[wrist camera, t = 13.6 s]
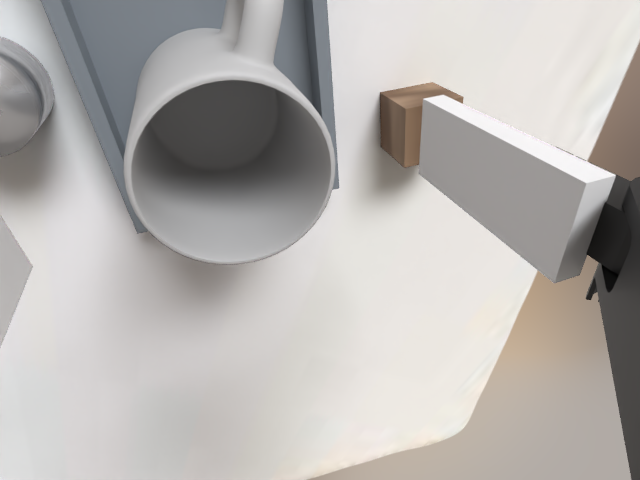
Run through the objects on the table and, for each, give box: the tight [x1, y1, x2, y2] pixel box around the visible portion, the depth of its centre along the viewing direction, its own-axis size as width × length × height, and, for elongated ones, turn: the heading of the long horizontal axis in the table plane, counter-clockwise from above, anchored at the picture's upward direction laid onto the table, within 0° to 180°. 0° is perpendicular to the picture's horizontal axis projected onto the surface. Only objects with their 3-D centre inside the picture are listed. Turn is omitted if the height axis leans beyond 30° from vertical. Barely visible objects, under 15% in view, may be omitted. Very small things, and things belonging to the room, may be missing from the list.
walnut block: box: [380, 82, 463, 168], centre depth 29 cm, size 4×4×4 cm
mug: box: [124, 0, 335, 265], centre depth 20 cm, size 12×8×11 cm
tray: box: [41, 0, 339, 233], centre depth 24 cm, size 14×17×2 cm
